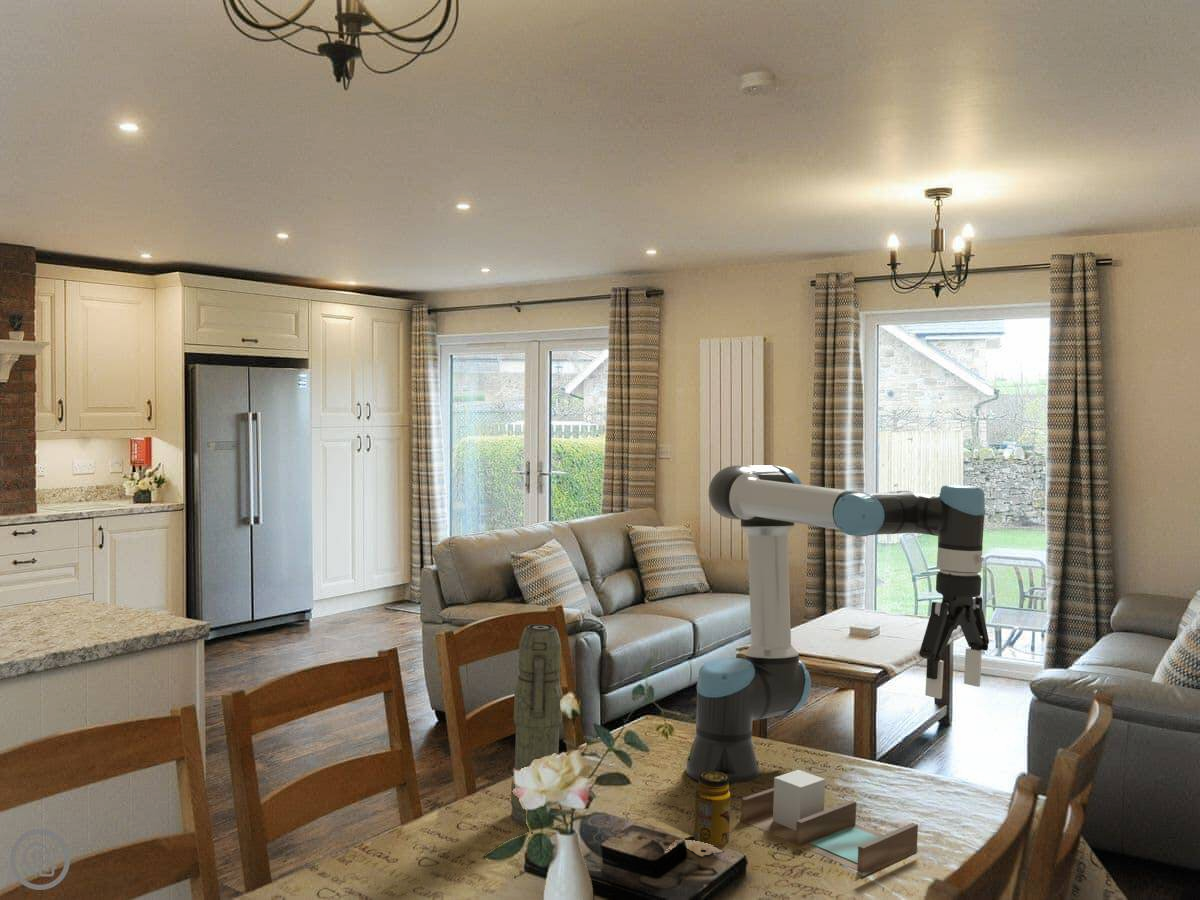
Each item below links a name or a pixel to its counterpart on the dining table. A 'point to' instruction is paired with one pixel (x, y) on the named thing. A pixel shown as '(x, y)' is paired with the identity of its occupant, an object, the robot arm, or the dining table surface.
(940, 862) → the dining table surface
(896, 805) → the dining table surface
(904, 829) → the rack
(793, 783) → the block
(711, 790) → the condiment
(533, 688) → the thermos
